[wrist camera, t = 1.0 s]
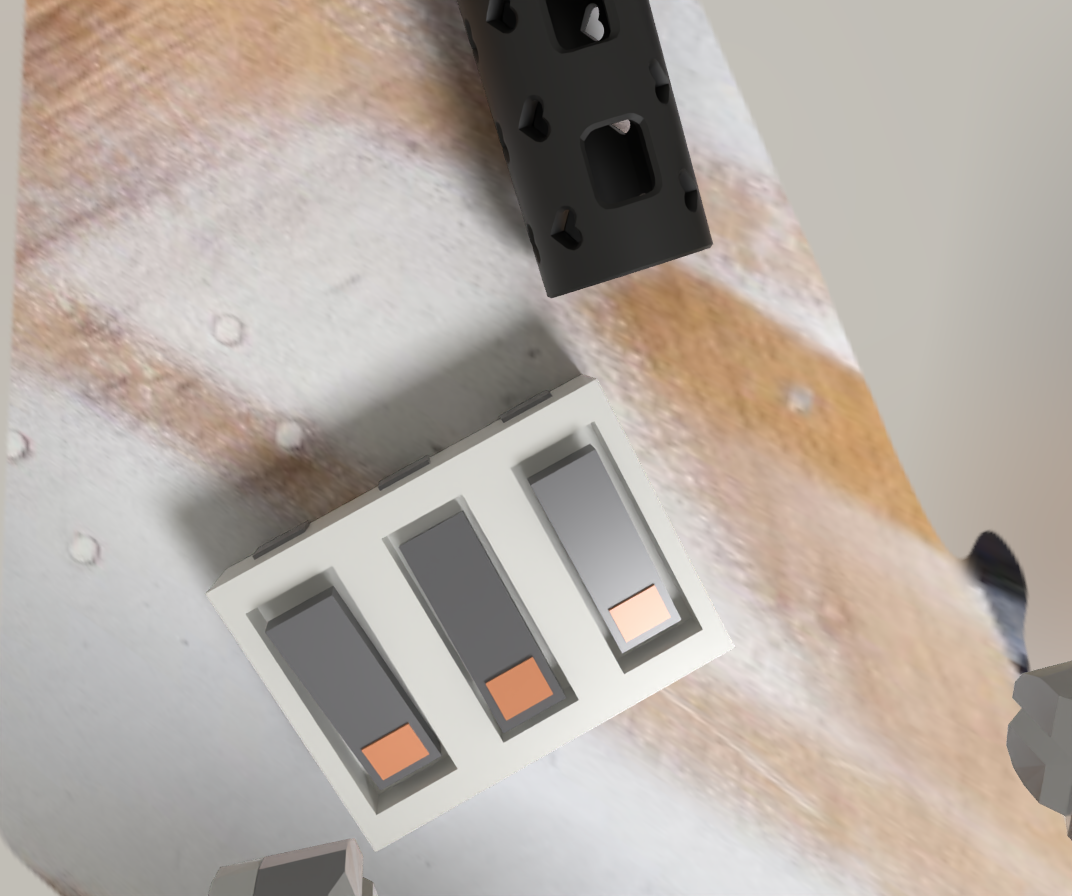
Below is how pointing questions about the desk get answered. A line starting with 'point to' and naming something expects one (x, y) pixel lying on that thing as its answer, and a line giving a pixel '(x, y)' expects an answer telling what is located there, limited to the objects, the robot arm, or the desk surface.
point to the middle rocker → (482, 621)
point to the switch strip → (418, 635)
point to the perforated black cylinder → (588, 136)
